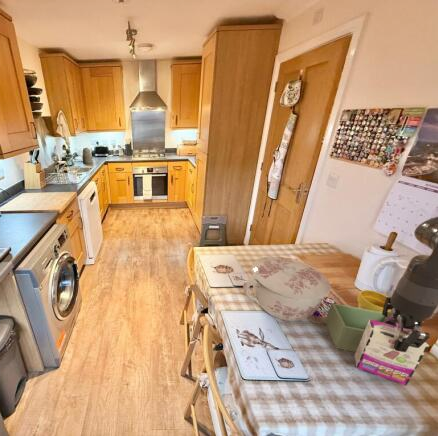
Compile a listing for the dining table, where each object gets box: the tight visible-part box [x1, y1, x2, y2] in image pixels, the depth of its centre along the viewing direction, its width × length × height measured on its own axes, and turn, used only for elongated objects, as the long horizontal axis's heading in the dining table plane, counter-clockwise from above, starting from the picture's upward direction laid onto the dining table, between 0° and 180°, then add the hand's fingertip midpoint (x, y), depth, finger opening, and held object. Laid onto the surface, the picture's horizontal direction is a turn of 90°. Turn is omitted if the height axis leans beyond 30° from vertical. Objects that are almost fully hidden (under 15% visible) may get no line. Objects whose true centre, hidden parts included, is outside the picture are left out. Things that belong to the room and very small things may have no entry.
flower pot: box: [356, 289, 391, 312], centre depth 89 cm, size 10×10×10 cm
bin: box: [324, 302, 398, 353], centre depth 81 cm, size 17×12×10 cm
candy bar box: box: [353, 319, 430, 387], centre depth 67 cm, size 11×5×16 cm, turn 59°
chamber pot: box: [242, 256, 332, 322], centre depth 94 cm, size 28×28×21 cm
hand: (392, 340), depth 66 cm, fingers closed on candy bar box, 5 cm apart
